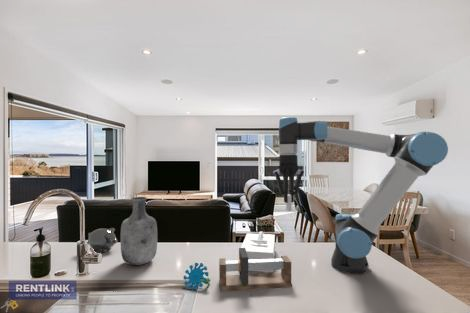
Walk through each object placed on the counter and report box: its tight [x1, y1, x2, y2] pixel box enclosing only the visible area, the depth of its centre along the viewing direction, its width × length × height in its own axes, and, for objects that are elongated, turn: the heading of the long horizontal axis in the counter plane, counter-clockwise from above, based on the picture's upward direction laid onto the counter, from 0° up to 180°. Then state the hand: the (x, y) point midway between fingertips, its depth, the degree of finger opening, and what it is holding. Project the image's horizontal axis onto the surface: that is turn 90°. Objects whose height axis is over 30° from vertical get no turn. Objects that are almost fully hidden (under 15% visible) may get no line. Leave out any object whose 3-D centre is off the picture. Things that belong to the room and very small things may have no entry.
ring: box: [238, 247, 249, 284], centre depth 104 cm, size 2×10×10 cm, turn 5°
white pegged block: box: [240, 230, 276, 273], centre depth 126 cm, size 14×25×11 cm, turn 170°
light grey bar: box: [226, 257, 284, 273], centre depth 104 cm, size 25×3×3 cm, turn 95°
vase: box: [119, 196, 158, 266], centre depth 123 cm, size 16×16×30 cm
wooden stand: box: [218, 255, 293, 292], centre depth 104 cm, size 27×10×9 cm, turn 95°
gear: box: [183, 262, 211, 291], centre depth 103 cm, size 11×6×10 cm
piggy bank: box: [87, 227, 119, 254], centre depth 138 cm, size 11×15×12 cm
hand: (288, 210), depth 113 cm, fingers closed
